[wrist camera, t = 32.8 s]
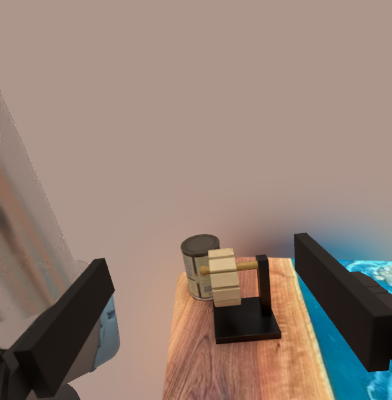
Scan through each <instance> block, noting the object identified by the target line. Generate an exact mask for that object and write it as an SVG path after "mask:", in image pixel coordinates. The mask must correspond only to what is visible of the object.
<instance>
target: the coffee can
mask: <svg viewBox="0 0 392 400" xmlns="http://www.w3.org/2000/svg"><path fill="white" fill-rule="evenodd" d="M216 249H220V247H219V239H218V238H217V237H216V236H213V235H208V234H202V235H196V236H193V237H190V238H188V239H186V240H185V241H184V242H182V244H181V250H182V254H183V259H184V264H185V269H186V274H187V279H188V284H189V290H190V294H191V295H192V296H193V297H194V298H196V299H198V300H202V301H208V300H213V292H212V285H211V277H210V275H211V274H207V275H206V276H202V275H201V274H200V272H199V269H200V267H201V266H209V257H208V251H209V250H216Z"/></svg>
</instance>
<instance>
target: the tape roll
mask: <svg viewBox="0 0 392 400" xmlns="http://www.w3.org/2000/svg"><path fill="white" fill-rule="evenodd" d="M208 257H209V268H210V274H211V275H210V277H211V285H212V292H213V299H214V304H215V307H222V306H232V305H241V295H240V288H239V280H238V273H237V268H236V263H235V258H234V254H233V250H232V248H224V249H216V250H209V251H208Z"/></svg>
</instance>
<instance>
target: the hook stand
mask: <svg viewBox="0 0 392 400" xmlns="http://www.w3.org/2000/svg"><path fill="white" fill-rule="evenodd" d="M236 268H237V271H242V270H251V269H257V277H258V290H259V297H250V298H241V305H232V306H222V307H215V304H214V301H213V309H214V324H215V338H216V344H223V343H234V342H245V341H256V340H267V339H278V338H281V331H280V329H279V326H278V324H277V322H276V319H275V317H274V314H273V312H272V309H271V294H270V278H269V262H268V258H267V256H266V255H257V256H256V261H248V262H240V263H236ZM199 272H200V274H201V275H202V276H206V275H207V274H210V268H209V266H201V267H200V269H199Z"/></svg>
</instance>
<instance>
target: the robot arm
mask: <svg viewBox="0 0 392 400" xmlns="http://www.w3.org/2000/svg"><path fill="white" fill-rule="evenodd" d="M294 246H295V270H296V272H297V273H298V275H299V276H300V277H301V279H302V280H303V282H304V283H305V284H306V286H307V287H308V289H309V290H310V291H311V293H312V294H313V296H314V297H315V298H316V300H317V301H318V303H319V304H320V305H321V307H322V308H323V310H324V311H325V312H326V314H327V315H328V317H329V318H330V319H331V321H332V322H333V324H334V325H335V326H336V328H337V329H338V331H339V332H340V333H341V335H342V336H343V338H344V339H345V340H346V342H347V343H348V345H349V346H350V347H351V349H352V350H353V352H354V353H355V354H356V356H357V357H358V359H359V360H360V361H361V363H362V364H363V366H364V367H365V368H366V370H367V371H368V372H376V371H388V370H389V364H390V359H391V360H392V294H391V293H388V291H387V290H386V289H384V288H383V287H381V286H380V284H378V283H377V282H376V281H375V280H373V279H372V278H371V277H369V276H367V275H365V274H363V273H361V272H359V271H357V272H349V271H348V270H347V269H346V268H345V267H344V266H342V265H341V264H340V263H339V262H338V261H337V260H336V259H335V258H333V257H332V256H331V255H330V254H329V253H328V252H327V251H326V250H325V249H323V248H322V247H321V246H320V245H319V244H318V243H317V242H316V241H315V240H314V239H312V238H311V237H310V236H309V235H308V234H307V233H300V234H294ZM114 291H115V289H114V286H113V283H112V280H111V276H110V274H109V270H108V267H107V264H106V261H105V258H100V259H94V260H93V261H92V262H91V264H90V265H89V264H88V263H86V262H84V261H82V260H77V259H74V258H73V256H72V254H71V252H70V249H69V247H68V245H67V242H66V240H65V238H64V235H63V233H62V231H61V229H60V226H59V224H58V222H57V219H56V217H55V215H54V213H53V210H52V208H51V206H50V203H49V201H48V199H47V197H46V194H45V192H44V190H43V187H42V185H41V183H40V181H39V178H38V176H37V174H36V171H35V169H34V167H33V165H32V162H31V160H30V158H29V155H28V153H27V151H26V149H25V146H24V144H23V142H22V140H21V137H20V135H19V132H18V130H17V128H16V126H15V123H14V121H13V119H12V116H11V114H10V112H9V110H8V107H7V105H6V103H5V101H4V98H3V96H2V94H1V91H0V400H37V399H38V398H50V397H54V396H55V394H56V393H57V391H58V389H59V387H61V386H63V385H65V384H67V383H69V382H71V381H72V380H74V379H76V378H78V377H80V376H82V375H84V374H86V373H88V372H93V371H94V370H95V369H96V368H97V367H98V366H100V365H101V364H103V363H105V362H106V361H108V360H110V359H111V358H113V357H114V356H115V355H116V353H117V352H118V349H119V346H120V338H119V330H118V324H117V318H116V313H115V306H114V299H113V293H114Z"/></svg>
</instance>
